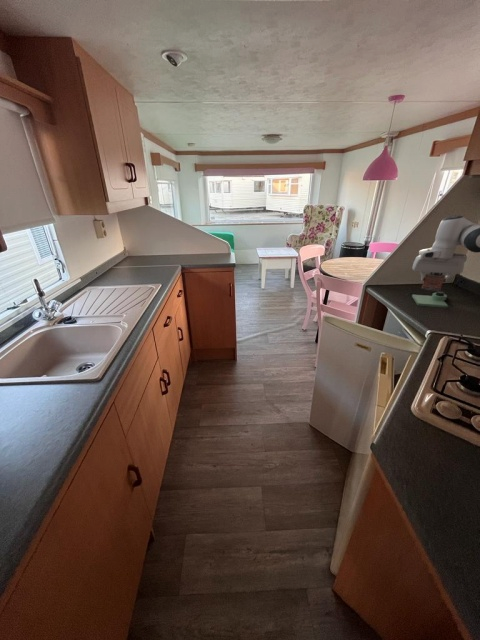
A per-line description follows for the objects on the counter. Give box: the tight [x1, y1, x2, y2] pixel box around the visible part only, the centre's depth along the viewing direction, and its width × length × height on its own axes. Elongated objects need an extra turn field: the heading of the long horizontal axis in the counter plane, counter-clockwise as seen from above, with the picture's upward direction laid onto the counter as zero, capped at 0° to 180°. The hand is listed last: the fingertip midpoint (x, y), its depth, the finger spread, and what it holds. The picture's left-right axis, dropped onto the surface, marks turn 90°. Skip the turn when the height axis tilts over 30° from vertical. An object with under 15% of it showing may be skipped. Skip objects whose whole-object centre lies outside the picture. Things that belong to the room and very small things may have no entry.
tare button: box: [435, 290, 445, 296], centre depth 136 cm, size 3×3×2 cm
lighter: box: [421, 272, 446, 292], centre depth 130 cm, size 8×3×10 cm, turn 65°
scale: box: [411, 292, 450, 309], centre depth 135 cm, size 14×12×3 cm
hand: (432, 281), depth 130 cm, fingers closed on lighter, 7 cm apart
